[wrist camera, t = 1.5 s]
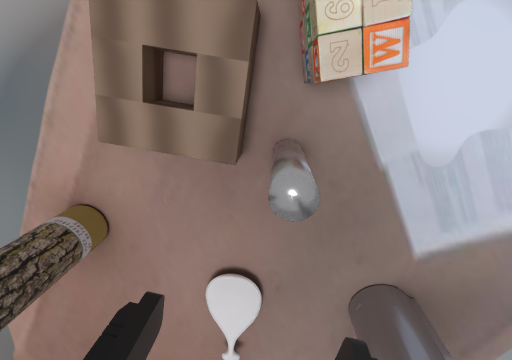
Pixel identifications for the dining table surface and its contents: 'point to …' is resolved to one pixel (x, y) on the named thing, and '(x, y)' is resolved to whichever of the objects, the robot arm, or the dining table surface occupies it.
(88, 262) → the dining table surface
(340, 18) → the stack of blocks
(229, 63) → the hole block
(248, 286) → the spoon
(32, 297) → the paper tube
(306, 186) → the long pin
